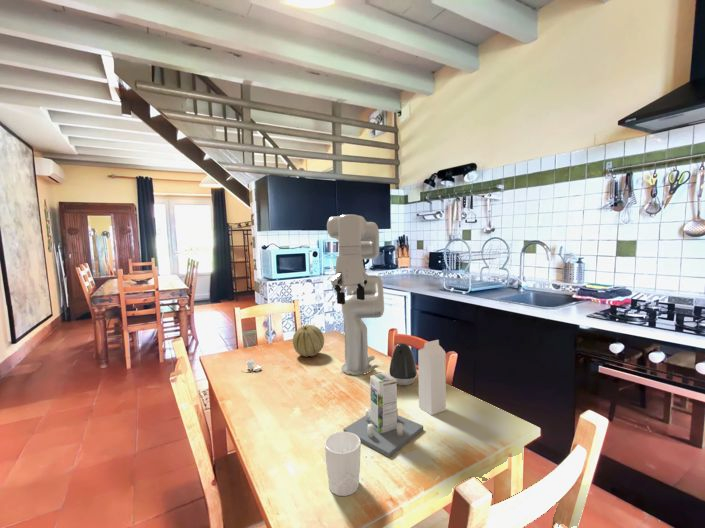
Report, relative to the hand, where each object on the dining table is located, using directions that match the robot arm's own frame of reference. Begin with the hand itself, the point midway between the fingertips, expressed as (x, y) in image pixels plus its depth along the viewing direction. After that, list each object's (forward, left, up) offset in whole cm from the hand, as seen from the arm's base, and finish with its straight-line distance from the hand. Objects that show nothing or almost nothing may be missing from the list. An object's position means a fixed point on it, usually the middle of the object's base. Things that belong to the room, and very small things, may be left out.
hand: (351, 301), depth 112 cm
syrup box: (+10, +21, -32) cm, 40 cm away
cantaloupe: (-16, -44, -34) cm, 58 cm away
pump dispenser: (-20, +7, -34) cm, 40 cm away
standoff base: (+10, +21, -33) cm, 41 cm away
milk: (-10, +25, -34) cm, 43 cm away
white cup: (+32, +27, -34) cm, 54 cm away
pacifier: (+13, -48, -34) cm, 60 cm away
